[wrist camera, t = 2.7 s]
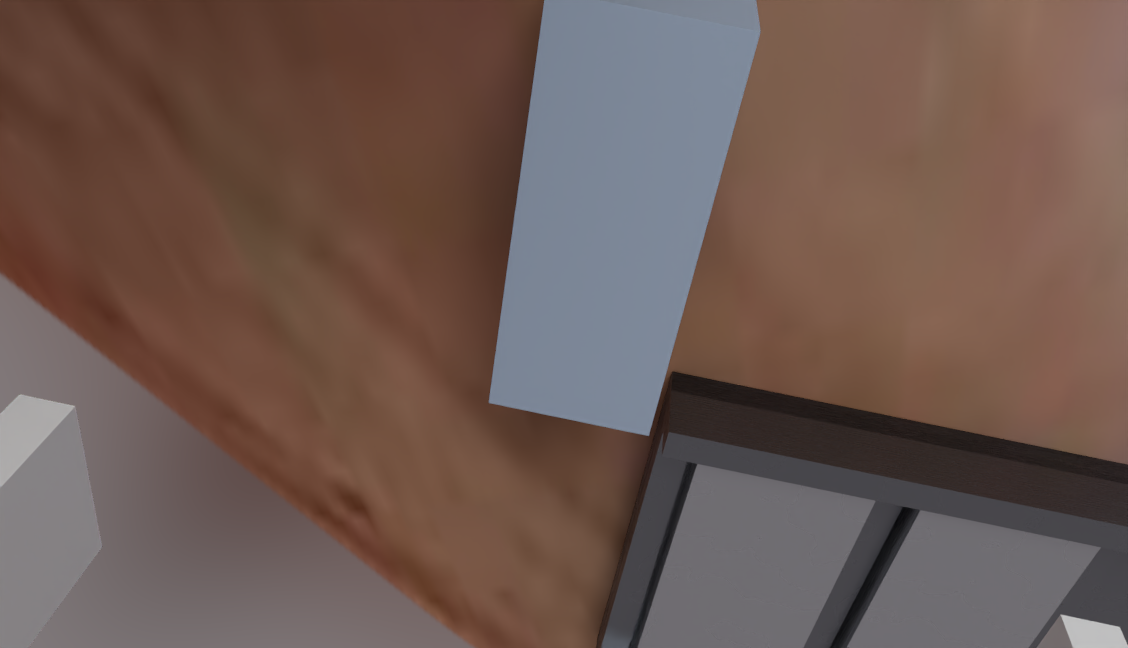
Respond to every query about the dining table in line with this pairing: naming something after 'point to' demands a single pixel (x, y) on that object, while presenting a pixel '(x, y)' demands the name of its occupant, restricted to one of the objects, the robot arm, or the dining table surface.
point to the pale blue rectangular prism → (616, 200)
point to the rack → (858, 531)
